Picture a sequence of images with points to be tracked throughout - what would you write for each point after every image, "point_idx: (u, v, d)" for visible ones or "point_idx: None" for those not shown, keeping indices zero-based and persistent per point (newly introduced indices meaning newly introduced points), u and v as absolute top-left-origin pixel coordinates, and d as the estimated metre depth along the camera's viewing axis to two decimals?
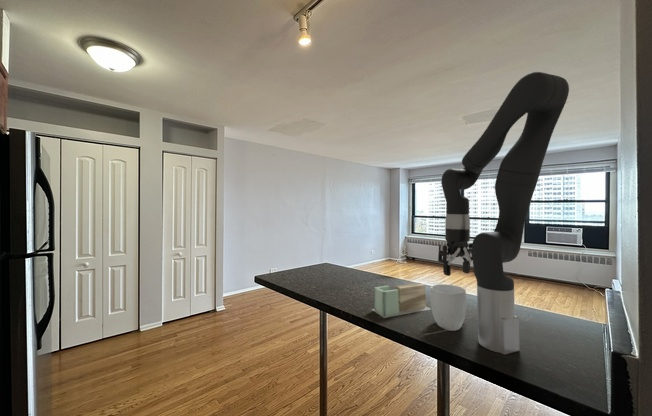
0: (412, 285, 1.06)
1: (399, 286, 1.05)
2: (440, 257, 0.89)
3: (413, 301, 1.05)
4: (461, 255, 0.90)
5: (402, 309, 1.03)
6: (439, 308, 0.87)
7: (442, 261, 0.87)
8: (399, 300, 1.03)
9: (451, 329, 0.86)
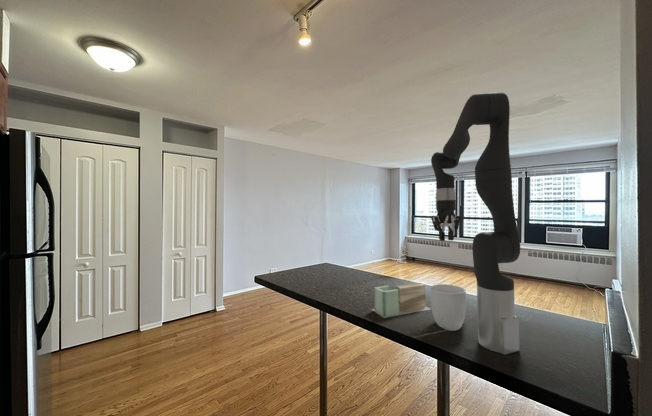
0: (412, 285, 1.06)
1: (399, 286, 1.05)
2: (435, 226, 1.09)
3: (413, 301, 1.05)
4: (448, 221, 1.09)
5: (402, 309, 1.03)
6: (439, 308, 0.87)
7: (437, 228, 1.07)
8: (399, 300, 1.03)
9: (451, 329, 0.86)
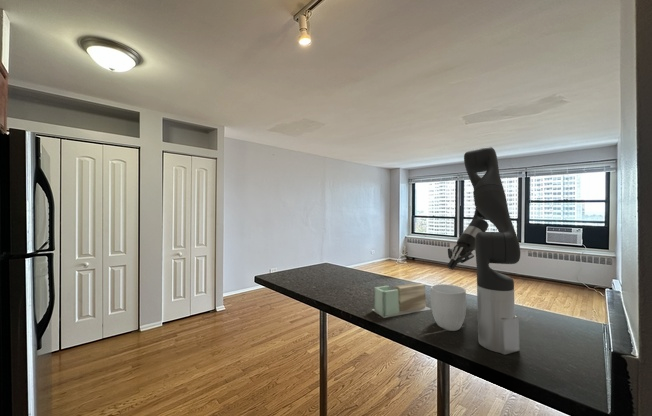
0: (412, 285, 1.06)
1: (399, 286, 1.05)
2: None
3: (413, 301, 1.05)
4: (457, 251, 1.16)
5: (402, 309, 1.03)
6: (439, 308, 0.87)
7: None
8: (399, 300, 1.03)
9: (451, 329, 0.86)
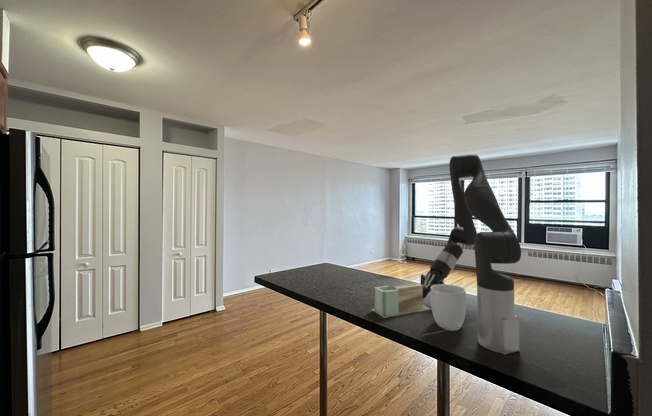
0: (409, 285, 1.06)
1: (396, 286, 1.05)
2: None
3: (410, 301, 1.04)
4: (429, 278, 1.11)
5: (399, 309, 1.03)
6: (439, 308, 0.87)
7: None
8: None
9: (451, 329, 0.86)
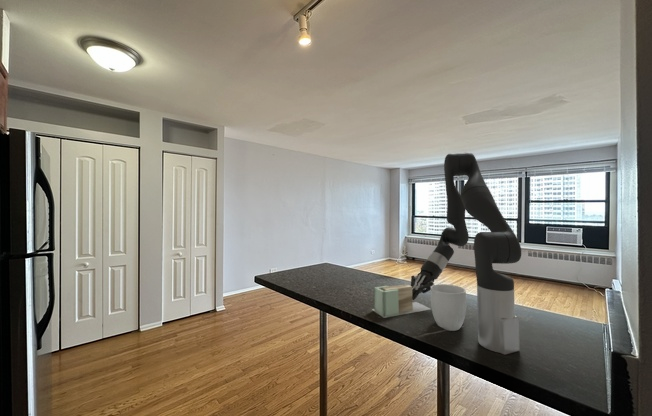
0: (399, 287, 1.04)
1: (385, 288, 1.03)
2: None
3: (399, 303, 1.03)
4: (420, 279, 1.09)
5: None
6: (439, 308, 0.87)
7: None
8: None
9: (451, 329, 0.86)
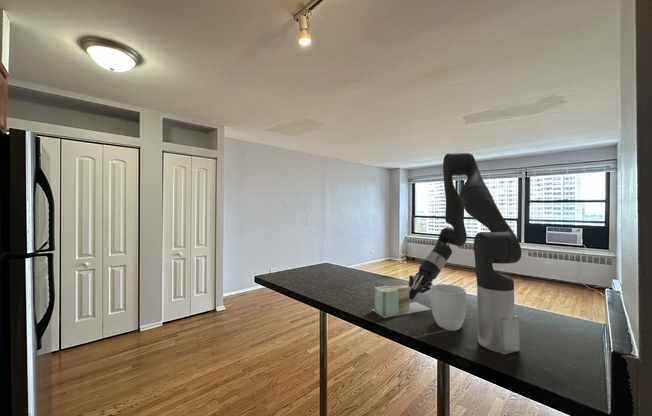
0: (395, 287, 1.04)
1: (382, 288, 1.03)
2: None
3: None
4: (418, 279, 1.09)
5: None
6: (439, 308, 0.87)
7: None
8: None
9: (451, 329, 0.86)
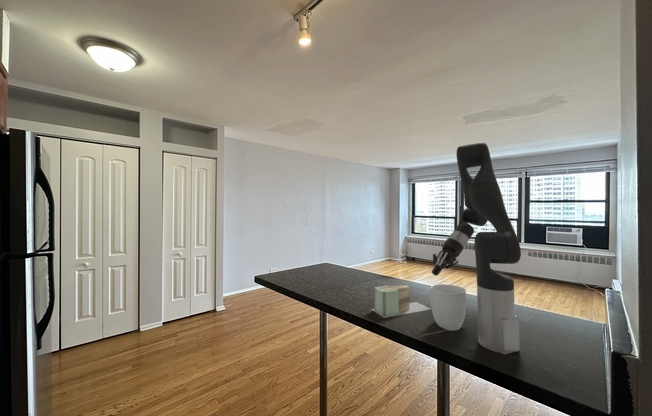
0: (395, 287, 1.04)
1: (382, 288, 1.03)
2: None
3: None
4: (442, 256, 1.13)
5: None
6: (439, 308, 0.87)
7: None
8: None
9: (451, 329, 0.86)
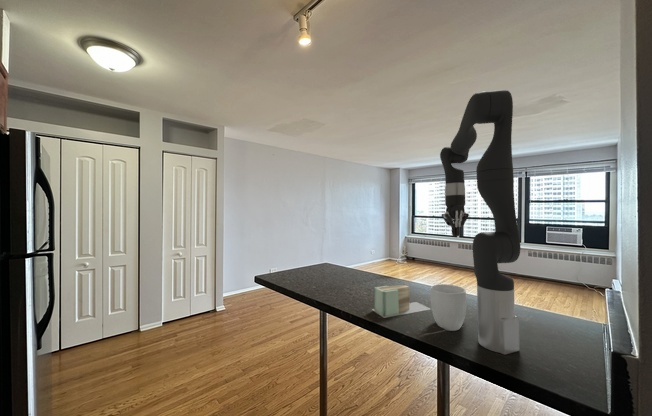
0: (395, 287, 1.04)
1: (382, 288, 1.03)
2: (447, 222, 1.08)
3: None
4: None
5: None
6: (439, 308, 0.87)
7: (451, 224, 1.07)
8: None
9: (451, 329, 0.86)
